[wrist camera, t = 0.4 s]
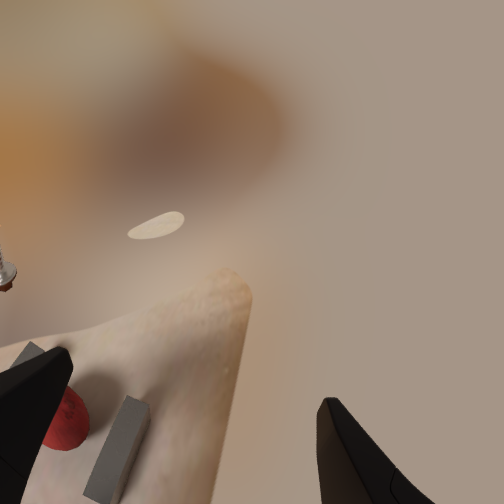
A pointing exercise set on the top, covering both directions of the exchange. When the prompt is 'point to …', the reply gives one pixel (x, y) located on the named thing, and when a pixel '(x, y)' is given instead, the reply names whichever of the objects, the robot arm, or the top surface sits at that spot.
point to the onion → (68, 423)
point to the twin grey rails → (111, 444)
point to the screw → (6, 274)
